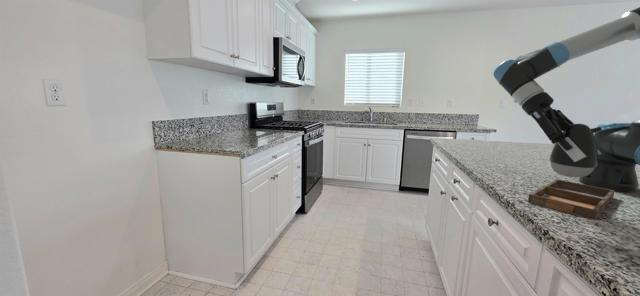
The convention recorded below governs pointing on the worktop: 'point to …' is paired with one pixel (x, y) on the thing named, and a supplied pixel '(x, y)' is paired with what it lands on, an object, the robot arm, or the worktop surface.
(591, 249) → the worktop surface
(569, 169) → the dark grey egg shape
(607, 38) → the robot arm
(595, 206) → the rack
